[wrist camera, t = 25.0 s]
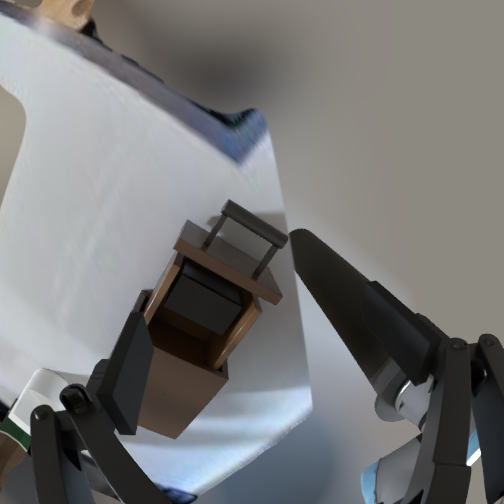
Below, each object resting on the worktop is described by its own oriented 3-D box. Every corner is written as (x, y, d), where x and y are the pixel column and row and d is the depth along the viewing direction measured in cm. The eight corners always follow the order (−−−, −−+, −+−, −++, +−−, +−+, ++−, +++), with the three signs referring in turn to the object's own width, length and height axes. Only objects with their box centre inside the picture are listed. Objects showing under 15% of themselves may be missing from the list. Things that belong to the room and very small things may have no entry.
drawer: (210, 182, 31) (208, 189, 24) (292, 234, 35) (312, 255, 27) (138, 308, 35) (123, 342, 28) (212, 345, 38) (214, 384, 31)
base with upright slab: (27, 378, 38) (2, 419, 27) (45, 361, 37) (17, 407, 26) (61, 408, 41) (42, 452, 30) (82, 395, 40) (62, 444, 29)
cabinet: (142, 289, 35) (123, 329, 26) (224, 332, 39) (229, 379, 30) (107, 360, 38) (90, 403, 29) (179, 393, 42) (175, 439, 33)
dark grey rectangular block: (186, 256, 33) (181, 273, 28) (238, 286, 35) (243, 307, 30) (169, 284, 33) (162, 306, 28) (220, 312, 35) (222, 336, 30)
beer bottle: (9, 399, 39) (-29, 473, 17) (24, 395, 39) (-17, 477, 17) (32, 422, 42) (1, 497, 19) (48, 419, 42) (16, 503, 19)
